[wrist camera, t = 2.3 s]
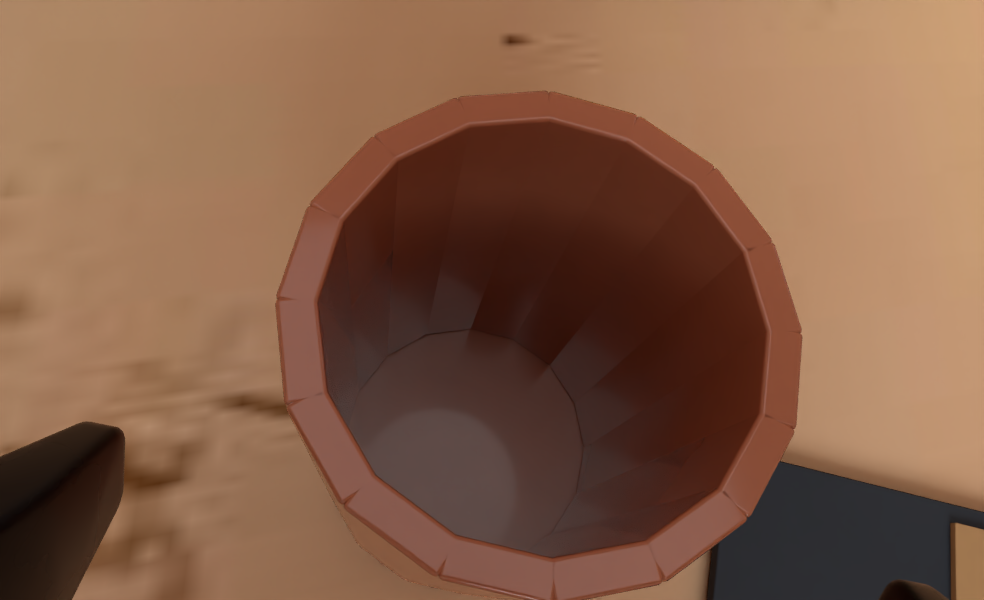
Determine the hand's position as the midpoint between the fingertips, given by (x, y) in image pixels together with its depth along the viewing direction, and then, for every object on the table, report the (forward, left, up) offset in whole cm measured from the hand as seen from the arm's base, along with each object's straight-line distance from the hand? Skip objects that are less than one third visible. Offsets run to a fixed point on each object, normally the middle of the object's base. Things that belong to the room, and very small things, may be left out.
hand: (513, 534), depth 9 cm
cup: (+3, 0, -10) cm, 10 cm away
